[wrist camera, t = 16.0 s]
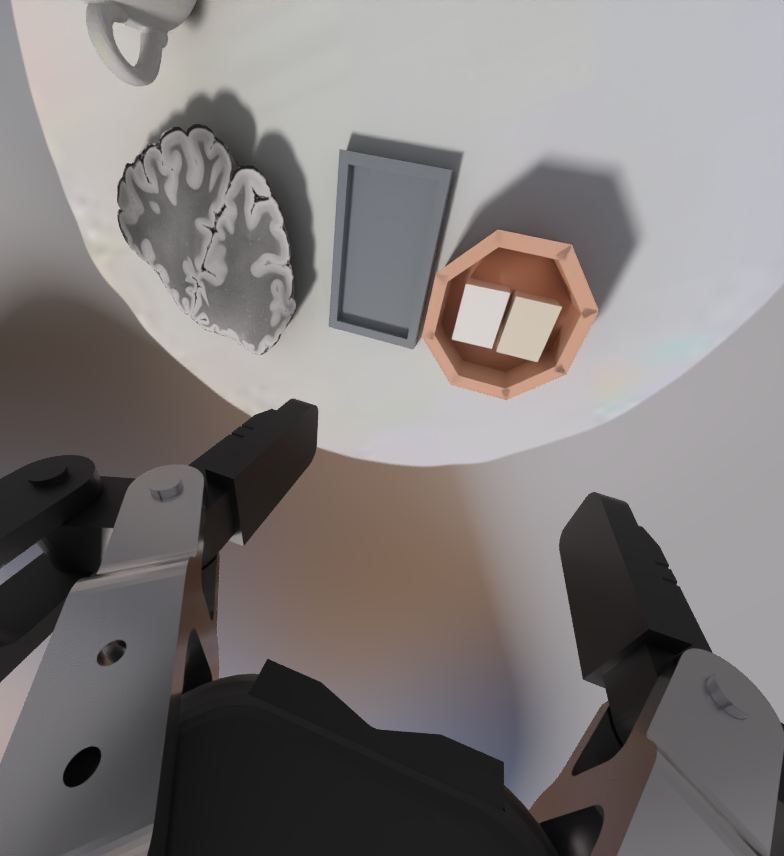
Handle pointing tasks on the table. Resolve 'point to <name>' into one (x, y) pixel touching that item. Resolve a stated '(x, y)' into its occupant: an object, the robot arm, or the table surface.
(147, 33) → the teacup
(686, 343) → the table surface
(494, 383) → the bowl
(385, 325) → the tray
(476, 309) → the stone
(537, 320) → the stone
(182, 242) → the brain slice
